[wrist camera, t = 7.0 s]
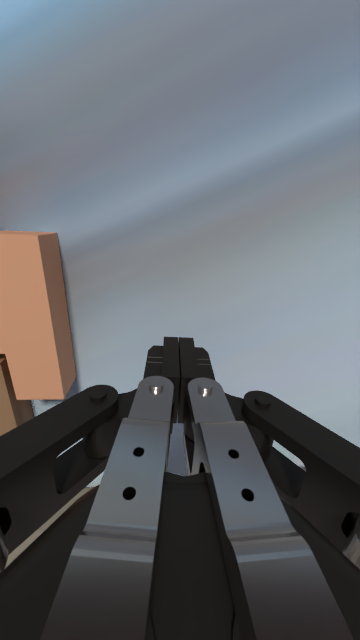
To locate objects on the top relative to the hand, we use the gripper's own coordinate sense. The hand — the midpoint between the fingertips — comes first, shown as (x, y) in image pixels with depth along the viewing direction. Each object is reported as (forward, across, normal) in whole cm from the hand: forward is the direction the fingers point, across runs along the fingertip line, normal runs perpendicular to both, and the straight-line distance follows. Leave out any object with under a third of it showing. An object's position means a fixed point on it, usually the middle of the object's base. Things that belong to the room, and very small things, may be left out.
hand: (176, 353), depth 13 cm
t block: (+7, +14, +1) cm, 15 cm away
